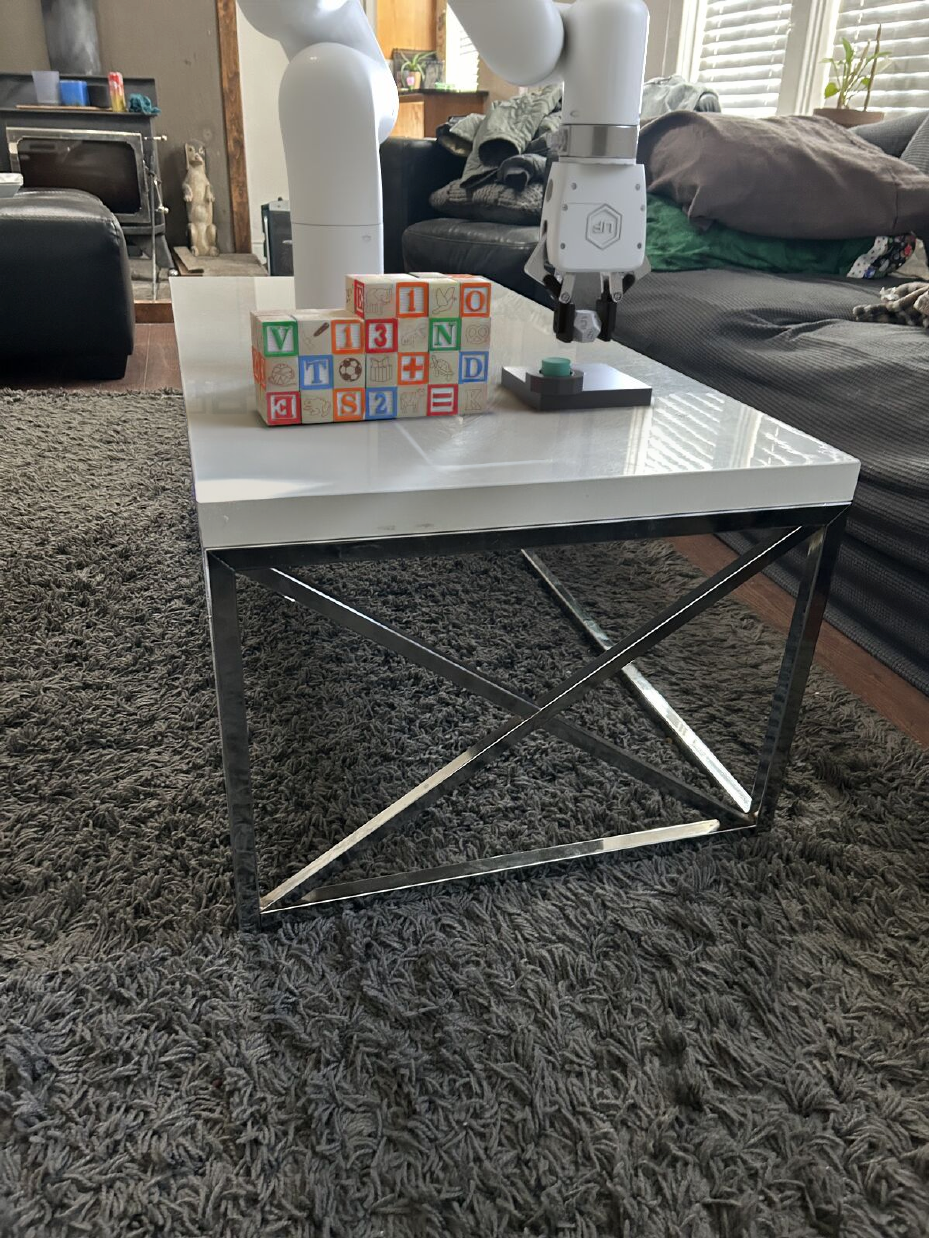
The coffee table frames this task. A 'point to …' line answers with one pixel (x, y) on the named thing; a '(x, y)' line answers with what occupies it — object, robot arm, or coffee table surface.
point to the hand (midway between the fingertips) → (583, 338)
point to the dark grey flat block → (576, 388)
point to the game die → (586, 326)
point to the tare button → (555, 366)
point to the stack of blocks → (377, 351)
